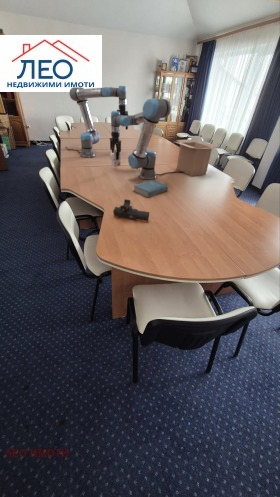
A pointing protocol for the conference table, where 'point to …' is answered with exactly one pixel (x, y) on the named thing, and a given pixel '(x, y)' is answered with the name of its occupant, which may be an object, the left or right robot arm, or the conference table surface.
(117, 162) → the ink cartridge box
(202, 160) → the box
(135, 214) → the laser sight
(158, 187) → the book
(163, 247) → the conference table surface
